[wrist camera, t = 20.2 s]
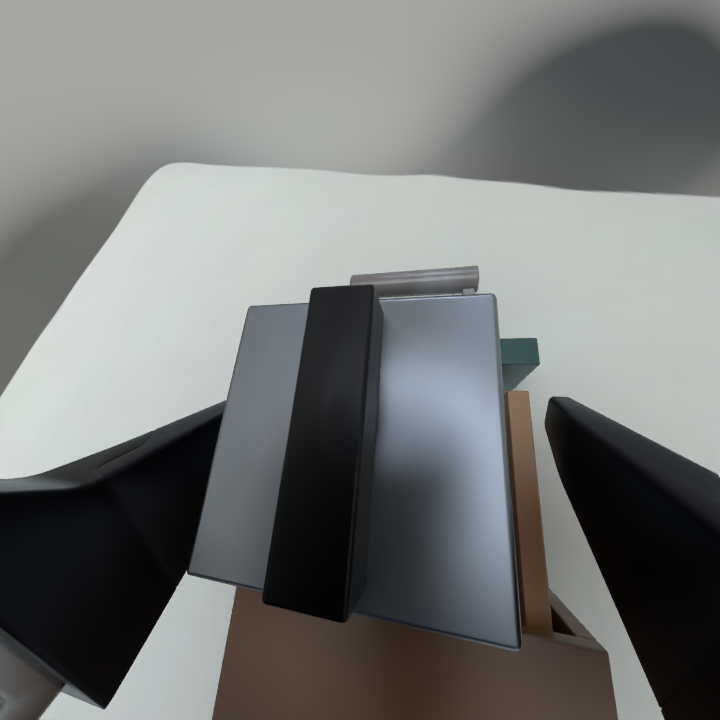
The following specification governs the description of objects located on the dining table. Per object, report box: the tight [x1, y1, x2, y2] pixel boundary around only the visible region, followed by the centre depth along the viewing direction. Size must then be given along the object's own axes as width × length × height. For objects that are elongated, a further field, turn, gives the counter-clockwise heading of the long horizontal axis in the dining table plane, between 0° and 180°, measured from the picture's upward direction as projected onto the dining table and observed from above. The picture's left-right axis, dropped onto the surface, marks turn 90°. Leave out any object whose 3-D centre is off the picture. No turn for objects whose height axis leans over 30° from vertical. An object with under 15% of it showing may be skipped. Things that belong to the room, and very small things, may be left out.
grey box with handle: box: [187, 284, 522, 652], centre depth 9 cm, size 5×5×13 cm
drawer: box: [350, 266, 553, 632], centre depth 15 cm, size 17×11×5 cm, turn 175°
